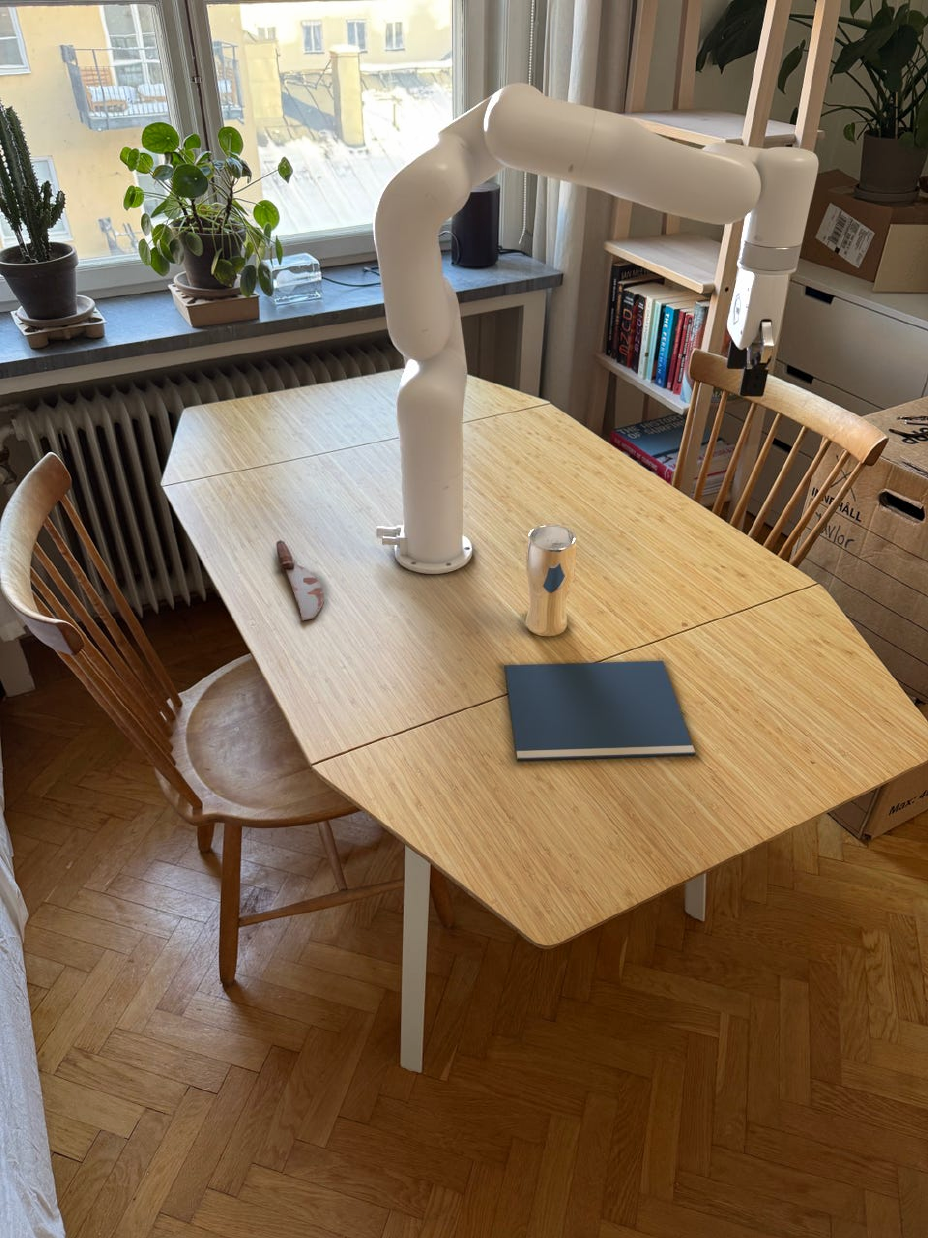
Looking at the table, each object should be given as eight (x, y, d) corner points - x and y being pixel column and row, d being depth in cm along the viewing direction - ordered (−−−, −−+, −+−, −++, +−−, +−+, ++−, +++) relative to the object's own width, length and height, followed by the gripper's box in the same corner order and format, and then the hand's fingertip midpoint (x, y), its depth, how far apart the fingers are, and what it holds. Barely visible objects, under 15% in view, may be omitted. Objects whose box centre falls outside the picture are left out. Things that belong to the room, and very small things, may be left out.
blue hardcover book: (517, 761, 112) (517, 759, 112) (504, 667, 127) (504, 664, 127) (695, 755, 113) (695, 753, 113) (662, 662, 128) (663, 660, 128)
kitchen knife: (333, 613, 136) (299, 616, 134) (332, 622, 137) (299, 625, 135) (305, 536, 151) (274, 538, 149) (304, 545, 152) (274, 547, 150)
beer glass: (519, 611, 137) (523, 524, 128) (565, 609, 138) (573, 522, 129) (525, 640, 132) (531, 551, 123) (573, 637, 132) (582, 549, 123)
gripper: (727, 236, 126) (706, 358, 136) (753, 274, 112) (728, 406, 122) (782, 237, 126) (757, 359, 136) (815, 275, 112) (784, 407, 122)
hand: (743, 381), depth 129 cm, fingers open, 9 cm apart
